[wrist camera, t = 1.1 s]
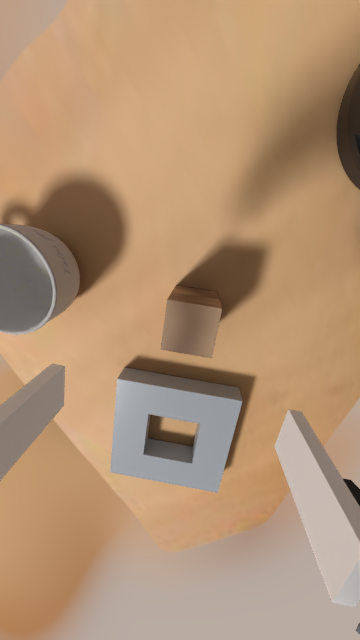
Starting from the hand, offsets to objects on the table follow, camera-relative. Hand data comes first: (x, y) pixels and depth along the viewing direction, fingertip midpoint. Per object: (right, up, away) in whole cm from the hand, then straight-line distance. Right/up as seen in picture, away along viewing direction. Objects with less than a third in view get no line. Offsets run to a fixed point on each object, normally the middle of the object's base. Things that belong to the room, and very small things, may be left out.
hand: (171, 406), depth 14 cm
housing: (-1, -10, +21) cm, 24 cm away
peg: (+2, +7, +16) cm, 17 cm away
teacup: (-17, +12, +16) cm, 26 cm away
